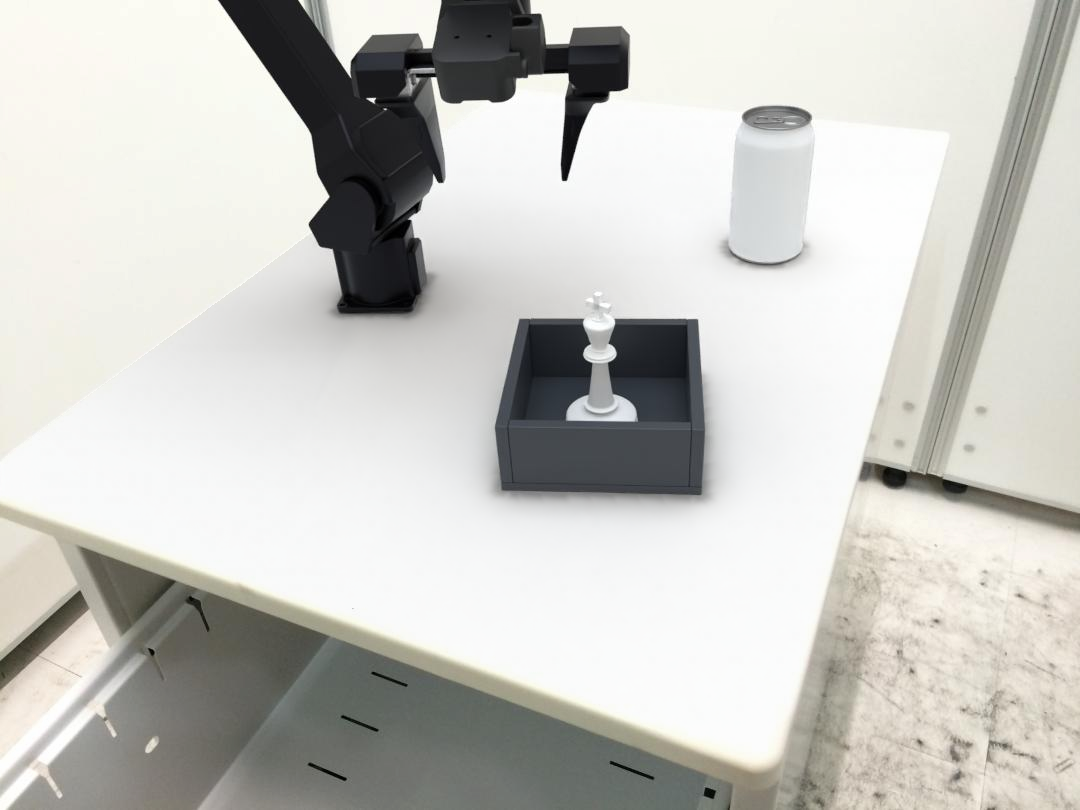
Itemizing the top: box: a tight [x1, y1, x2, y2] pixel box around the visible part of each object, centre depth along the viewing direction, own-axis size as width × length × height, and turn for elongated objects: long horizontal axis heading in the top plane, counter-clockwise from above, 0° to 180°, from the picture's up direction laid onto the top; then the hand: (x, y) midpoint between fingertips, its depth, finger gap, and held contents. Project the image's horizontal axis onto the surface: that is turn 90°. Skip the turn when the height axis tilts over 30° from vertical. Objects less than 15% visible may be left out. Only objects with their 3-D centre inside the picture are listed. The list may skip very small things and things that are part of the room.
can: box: [728, 104, 816, 265], centre depth 80 cm, size 6×6×12 cm
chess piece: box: [566, 291, 638, 422], centre depth 61 cm, size 5×5×10 cm
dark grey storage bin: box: [494, 317, 706, 495], centre depth 63 cm, size 13×13×5 cm
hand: (503, 180), depth 70 cm, fingers open, 9 cm apart
